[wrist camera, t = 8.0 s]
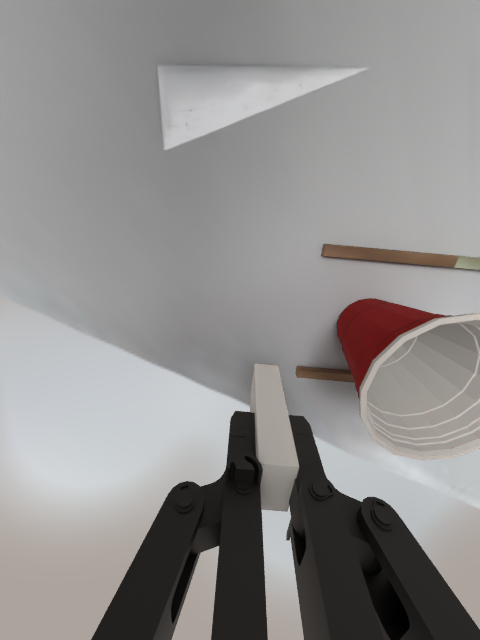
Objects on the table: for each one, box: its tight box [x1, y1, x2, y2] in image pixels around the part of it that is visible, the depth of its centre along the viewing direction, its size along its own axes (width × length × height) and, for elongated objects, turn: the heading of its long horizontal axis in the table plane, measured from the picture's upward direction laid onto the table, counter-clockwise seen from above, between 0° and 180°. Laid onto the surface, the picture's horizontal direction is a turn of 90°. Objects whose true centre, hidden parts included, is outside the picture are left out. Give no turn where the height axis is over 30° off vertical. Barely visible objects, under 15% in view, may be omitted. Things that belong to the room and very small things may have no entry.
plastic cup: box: [337, 298, 480, 460], centre depth 20 cm, size 11×11×12 cm
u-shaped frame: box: [296, 244, 480, 382], centre depth 24 cm, size 15×25×2 cm, turn 85°
